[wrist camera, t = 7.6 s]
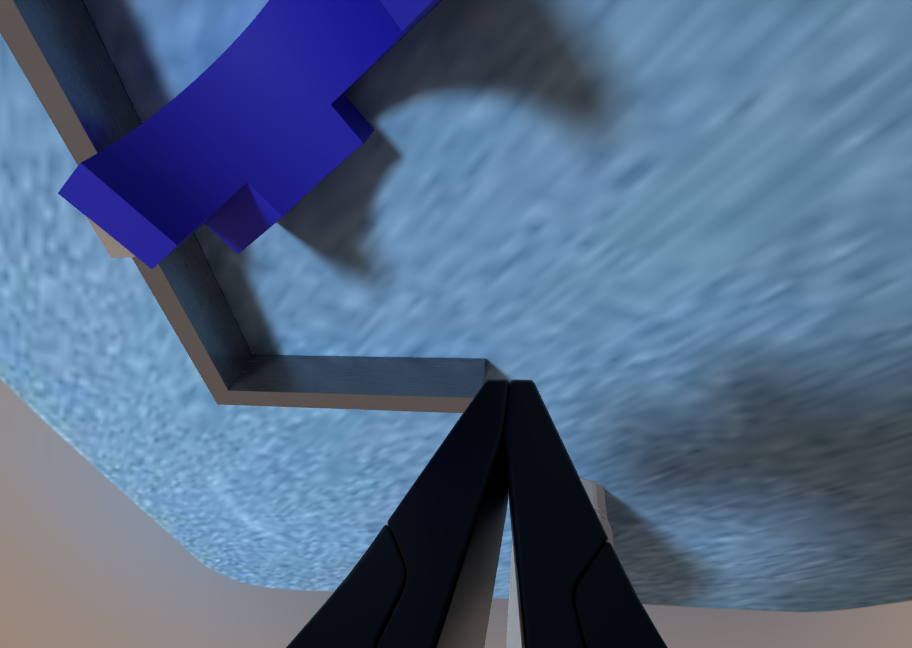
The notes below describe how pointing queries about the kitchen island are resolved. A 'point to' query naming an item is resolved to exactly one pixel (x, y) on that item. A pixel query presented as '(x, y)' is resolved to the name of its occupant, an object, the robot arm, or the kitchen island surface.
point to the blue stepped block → (245, 129)
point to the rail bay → (186, 269)
